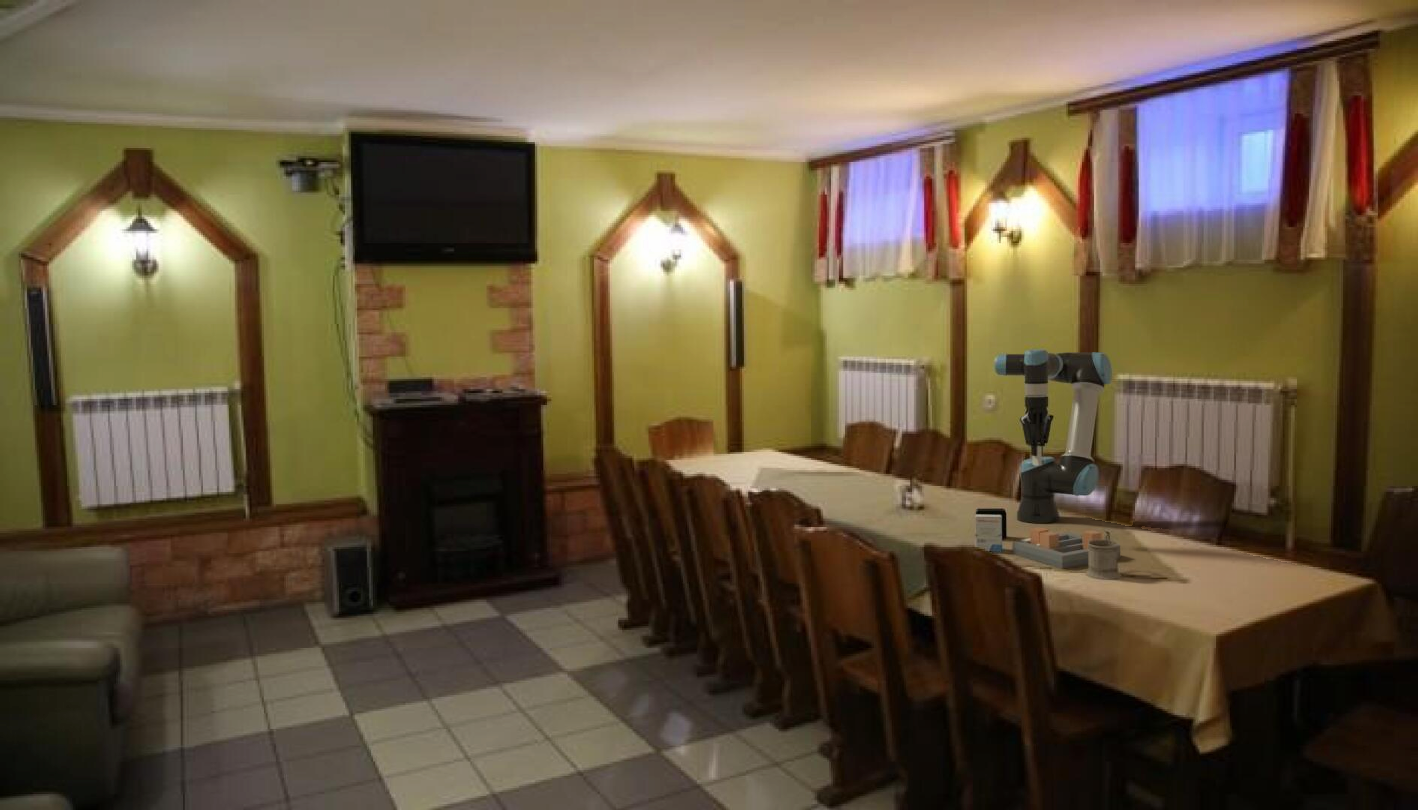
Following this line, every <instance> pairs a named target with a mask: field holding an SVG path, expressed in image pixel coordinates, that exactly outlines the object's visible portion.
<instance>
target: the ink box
mask: <svg viewBox="0 0 1418 810" xmlns="http://www.w3.org/2000/svg"><path fill="white" fill-rule="evenodd" d="M974 539H975V540H974V545H975V547H980V548H983V549H985V550H990V551H992V552H991V553H1002V552H1003V539H1002V515H980V514H976V513H975V516H974ZM975 547H974V548H975Z"/></svg>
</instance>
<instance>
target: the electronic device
mask: <svg viewBox="0 0 1418 810" xmlns="http://www.w3.org/2000/svg"><path fill="white" fill-rule="evenodd" d="M976 514H980V515H1002V540H1005V539H1007V537H1008V536H1007V535H1008V534H1007V532H1008V531H1007V530H1008V529H1007V512H1006V509H1005V508H991V507H989V508H984V507H983V508H981V507H980V508H976V509H975V515H976Z"/></svg>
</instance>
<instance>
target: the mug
mask: <svg viewBox="0 0 1418 810" xmlns="http://www.w3.org/2000/svg"><path fill="white" fill-rule="evenodd" d="M1103 532H1105V534H1104V539H1102V540H1092V541H1089V542H1088V548H1089V564H1088V568H1087V571H1086V572H1085V576H1086V577H1088V578H1090V579H1096V580H1103V581H1104V580H1105V581H1106V580H1118V579H1120V578H1121V577H1122V575H1121V573H1120V572H1119V569H1118V567H1119V561H1118V559H1119V558H1118V546H1119V545H1120V544H1119V543H1118V542H1117V541H1114V540H1111V533H1110V532H1111V530H1108V529H1107V530H1103Z"/></svg>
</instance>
